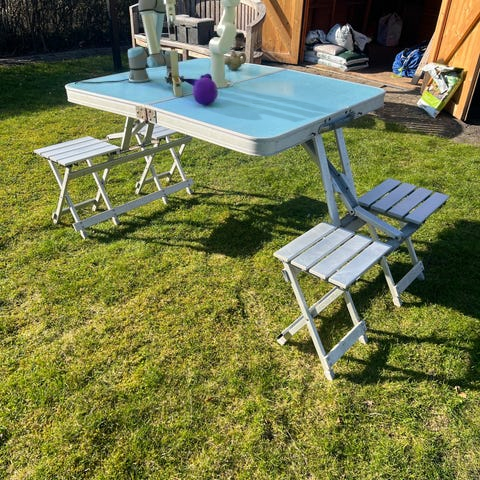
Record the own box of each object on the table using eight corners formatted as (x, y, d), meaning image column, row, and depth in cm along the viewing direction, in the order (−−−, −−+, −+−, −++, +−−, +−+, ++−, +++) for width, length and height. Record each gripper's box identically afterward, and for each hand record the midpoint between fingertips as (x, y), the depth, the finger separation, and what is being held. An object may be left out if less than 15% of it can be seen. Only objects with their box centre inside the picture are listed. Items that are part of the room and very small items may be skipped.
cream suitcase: (182, 96, 293) (181, 81, 289) (175, 96, 293) (174, 82, 288) (180, 90, 308) (178, 76, 303) (173, 91, 307) (172, 77, 302)
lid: (177, 50, 289) (176, 44, 294) (170, 51, 288) (168, 44, 293) (178, 76, 303) (177, 69, 308) (172, 76, 302) (170, 69, 307)
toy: (205, 96, 290) (217, 110, 270) (179, 91, 283) (189, 106, 262) (211, 71, 282) (224, 84, 262) (184, 66, 275) (195, 79, 254)
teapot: (226, 72, 363) (226, 52, 355) (220, 70, 372) (219, 50, 364) (249, 69, 372) (249, 50, 365) (242, 67, 381) (241, 48, 373)
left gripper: (186, 81, 324) (190, 87, 304) (161, 82, 321) (163, 89, 301) (185, 70, 320) (189, 76, 300) (160, 71, 317) (162, 77, 297)
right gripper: (176, 1, 270) (179, 34, 279) (174, 0, 285) (177, 32, 294) (164, 2, 269) (167, 35, 278) (162, 1, 283) (165, 32, 293)
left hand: (176, 82), depth 301 cm, fingers closed on cream suitcase, 5 cm apart
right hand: (172, 33), depth 286 cm, fingers open, 5 cm apart
